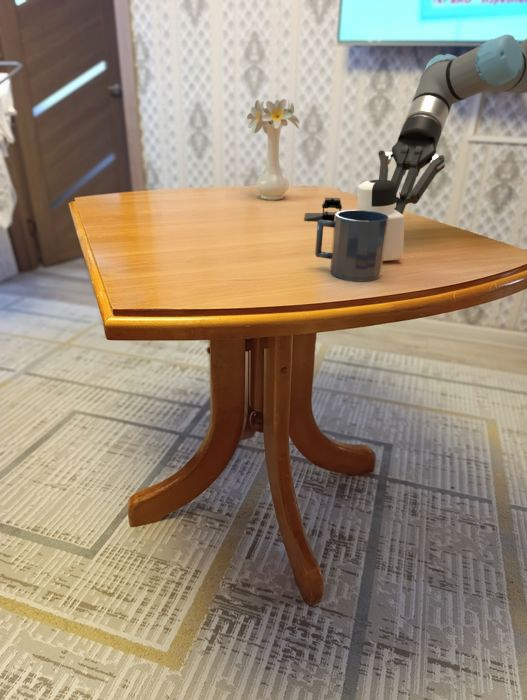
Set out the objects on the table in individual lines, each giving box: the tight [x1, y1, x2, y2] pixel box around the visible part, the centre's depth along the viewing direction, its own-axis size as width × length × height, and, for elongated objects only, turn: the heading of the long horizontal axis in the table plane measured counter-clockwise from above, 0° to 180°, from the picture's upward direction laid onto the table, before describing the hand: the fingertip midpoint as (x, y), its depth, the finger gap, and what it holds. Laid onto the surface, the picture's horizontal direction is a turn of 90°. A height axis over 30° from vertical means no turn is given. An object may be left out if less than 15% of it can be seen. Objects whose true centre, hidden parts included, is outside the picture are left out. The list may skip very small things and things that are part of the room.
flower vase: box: [246, 98, 300, 201], centre depth 137 cm, size 13×18×25 cm
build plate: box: [304, 196, 343, 222], centre depth 120 cm, size 12×7×5 cm, turn 85°
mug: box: [314, 209, 389, 283], centre depth 82 cm, size 11×8×10 cm
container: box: [357, 179, 406, 262], centre depth 89 cm, size 8×8×13 cm
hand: (384, 230), depth 94 cm, fingers closed
